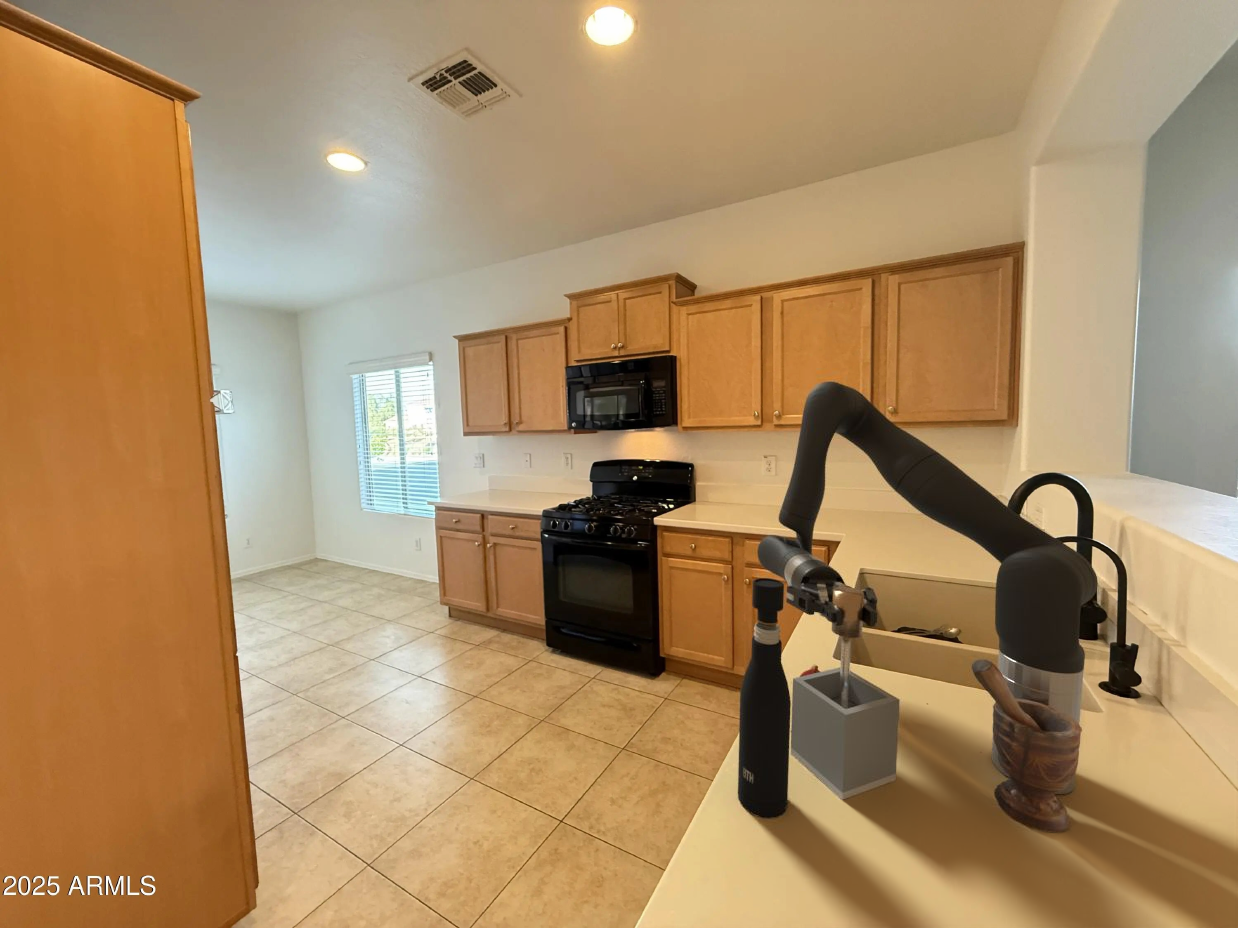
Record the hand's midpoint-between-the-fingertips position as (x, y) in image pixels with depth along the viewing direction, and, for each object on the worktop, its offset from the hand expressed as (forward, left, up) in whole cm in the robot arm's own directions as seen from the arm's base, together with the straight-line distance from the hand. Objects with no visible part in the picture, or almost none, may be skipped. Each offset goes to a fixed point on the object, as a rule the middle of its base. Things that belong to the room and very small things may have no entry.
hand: (856, 619), depth 67 cm
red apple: (-8, -16, -24) cm, 30 cm away
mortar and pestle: (-16, +12, -24) cm, 31 cm away
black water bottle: (+14, -2, -24) cm, 28 cm away
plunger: (-1, -3, -16) cm, 17 cm away
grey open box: (-1, -3, -24) cm, 24 cm away
